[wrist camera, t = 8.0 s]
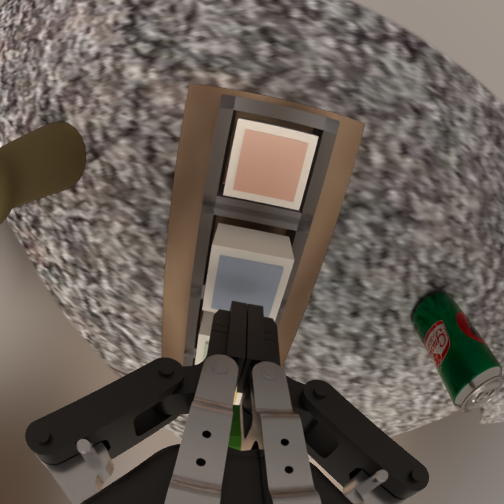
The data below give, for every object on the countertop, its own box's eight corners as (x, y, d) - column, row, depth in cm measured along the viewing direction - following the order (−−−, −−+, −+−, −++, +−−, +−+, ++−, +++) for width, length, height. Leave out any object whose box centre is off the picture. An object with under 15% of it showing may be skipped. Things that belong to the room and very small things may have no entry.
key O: (309, 132, 18) (319, 137, 15) (292, 195, 20) (299, 212, 17) (240, 116, 18) (237, 118, 15) (227, 182, 20) (222, 196, 17)
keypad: (359, 122, 19) (382, 126, 16) (272, 380, 31) (273, 411, 28) (193, 84, 18) (178, 80, 15) (164, 362, 31) (155, 392, 27)
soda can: (414, 294, 26) (471, 387, 15) (454, 285, 26) (516, 366, 15) (406, 332, 28) (449, 422, 18) (444, 322, 28) (493, 403, 17)
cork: (97, 168, 21) (6, 220, 11) (52, 202, 22) (-31, 262, 12) (66, 106, 19) (-36, 126, 9) (24, 147, 20) (-67, 185, 10)
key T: (289, 236, 19) (295, 262, 16) (272, 294, 21) (274, 325, 18) (218, 222, 18) (211, 246, 15) (208, 282, 20) (201, 313, 17)
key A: (265, 316, 22) (266, 348, 19) (253, 356, 24) (252, 388, 21) (205, 305, 21) (197, 337, 18) (199, 347, 23) (192, 378, 20)
